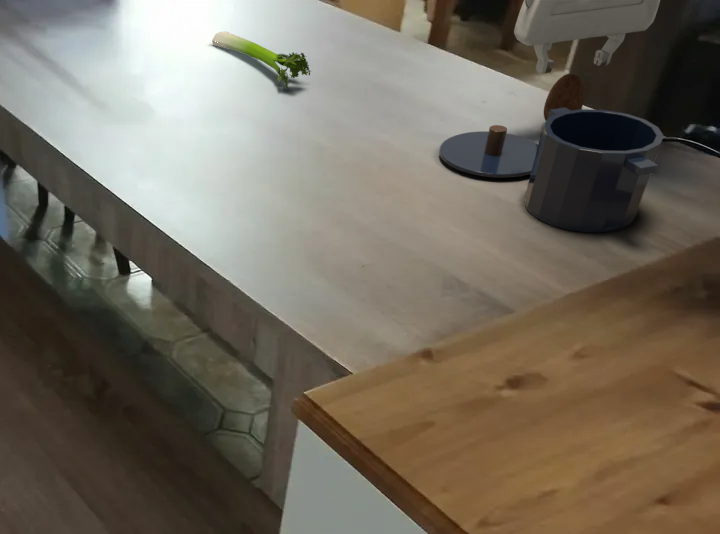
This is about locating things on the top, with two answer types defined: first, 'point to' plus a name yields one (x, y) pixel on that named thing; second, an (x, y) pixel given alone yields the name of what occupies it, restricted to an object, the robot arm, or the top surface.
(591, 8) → the robot arm
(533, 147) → the lid
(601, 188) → the pot
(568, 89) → the coconut
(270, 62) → the celery stalk
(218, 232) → the top surface
